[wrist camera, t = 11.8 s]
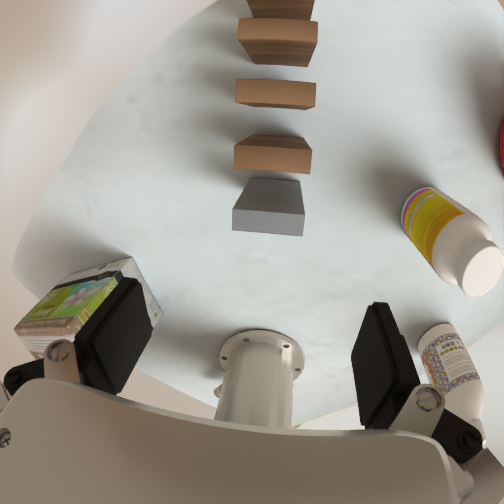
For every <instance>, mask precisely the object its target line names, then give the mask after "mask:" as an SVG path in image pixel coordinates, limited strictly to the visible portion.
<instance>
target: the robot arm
mask: <svg viewBox="0 0 504 504" xmlns="http://www.w3.org/2000/svg"><path fill="white" fill-rule="evenodd" d="M151 334H152V328H151V324H150V320H149V316H148V311H147V307H146V302H145V297H144V293H143V288H142V284H141V283H140V282H139V281H138V279H136V278H130V277H124V278H123V279H122V280H121V281H120V282H119V283H118V284H117V285H116V287H115V288H114V289H113V290H112V291H111V292H110V294H109V295H108V296H107V297H106V298H105V299H104V301H103V302H102V303H101V304H100V305H99V307H98V308H97V309H96V310H95V311H94V313H93V314H92V315H91V316H90V318H89V319H88V320H87V321H86V323H85V324H84V325H83V326H82V328H81V329H80V330H79V331H78V333H77V334H76V335H75V336H74V338H75V340H74V341H73V342H71V341H69V340H67V339H59V340H56V341H53V342H52V343H50V344H49V345H48V346H47V347H46V349H45V351H44V358H41V359H38V360H35V361H32V362H29V363H25V364H22V365H19V366H16V367H13V368H11V369H10V370H9V371H8V372H7V373H6V375H5V377H4V383H2V382H1V381H0V504H498V503H499V502H500V501H501V499H502V498H503V497H504V467H503V466H502V465H501V463H500V462H499V461H498V460H497V459H496V457H495V456H494V455H493V454H492V453H491V452H490V450H489V449H488V448H485V449H483V447H482V445H483V438H482V435H481V433H480V431H479V430H478V429H477V428H476V427H474V426H472V425H471V424H469V423H468V422H466V421H464V420H463V419H461V418H460V417H458V416H457V415H455V414H453V413H452V412H450V411H449V410H447V409H446V408H444V407H445V397H444V395H443V393H442V392H441V390H440V389H438V388H437V387H436V386H434V385H431V384H421V383H420V380H419V377H418V374H417V371H416V368H415V365H414V362H413V360H412V357H411V354H410V351H409V349H408V346H407V343H406V341H405V338H404V336H403V335H400V332H399V329H398V327H397V324H396V322H395V319H394V317H393V314H392V312H391V310H390V307H389V305H388V303H384V302H374V303H373V304H372V305H369V306H368V308H367V311H366V314H365V317H364V320H363V323H362V326H361V328H360V331H359V334H358V337H357V340H356V342H355V345H354V348H353V350H352V354H351V361H352V367H353V373H354V380H355V386H356V393H357V400H358V407H359V415H360V422H361V425H363V426H365V430H304V429H291V420H292V399H293V381H294V380H295V379H296V378H298V376H299V375H300V374H301V373H302V371H303V369H304V355H303V352H302V350H301V348H300V347H299V346H298V345H297V344H296V343H295V342H294V341H293V340H291V339H290V338H288V337H286V336H284V335H282V334H279V333H275V332H271V331H265V330H252V331H245V332H241V333H238V334H236V335H234V336H232V337H230V338H229V339H227V340H226V342H225V343H224V344H223V346H222V348H221V351H220V354H219V361H220V364H221V367H222V368H223V370H224V371H225V372H226V374H225V378H224V381H223V384H221V385H220V386H218V387H217V388H215V389H214V394H215V396H216V397H218V398H219V402H218V406H217V410H216V415H215V418H214V420H212V419H206V418H201V417H196V416H191V415H186V414H182V413H177V412H173V411H168V410H165V409H160V408H157V407H153V406H149V405H146V404H142V403H138V402H135V401H132V400H128V399H125V398H122V397H119V396H116V395H117V393H120V392H121V391H122V389H123V387H124V385H125V383H126V382H127V380H128V378H129V376H130V374H131V372H132V370H133V368H134V367H135V365H136V363H137V361H138V359H139V357H140V355H141V354H142V352H143V350H144V348H145V346H146V344H147V343H148V341H149V339H150V337H151Z"/></svg>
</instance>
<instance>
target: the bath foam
mask: <svg viewBox="0 0 504 504" xmlns="http://www.w3.org/2000/svg"><path fill="white" fill-rule="evenodd" d="M418 352H419V354H420V357H421V360H422V363H423V365H424V368H425V371H426V374H427V377H428V379H429V382H430V384H431V385H434V386H436V387H437V388H438V389H440V390H441V392H442V393H443V395H444V397H445V407H444V408H446V409H447V410H449V411H450V412H452V413H453V414H455V415H457V416H458V417H460V418H461V419H463V420H464V421H466V422H468V423H469V424H471V425H472V426H474V427H476V428H477V429H478V430H479V431H480V433H481V435H482V438H483V445H484V444H485V443H486V441H487V439H486V436H485V432H484V430H483V427H482V424H481V421H480V416H481V412H482V408H483V403H484V389H483V385H482V382H481V380H480V377H479V375H478V373H477V371H476V369H475V367H474V364H473V362H472V360H471V358H470V356H469V354H468V352H467V350H466V348H465V346H464V345H463V343H462V341H461V339H460V337H459V335H458V333H457V331H456V330H455V328H454V327H453V326H452V325H450V324H439V325H437V326H434V327H433V328H431V329H430V330H428V331H427V332H426V333H425V334H424V335H423V336H422V338H421V339H420V341H419V344H418Z"/></svg>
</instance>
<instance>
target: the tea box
mask: <svg viewBox="0 0 504 504" xmlns="http://www.w3.org/2000/svg"><path fill="white" fill-rule="evenodd" d="M124 277H130V278H136V279H138V281H139V282H140V283H141V284H142V288H143V293H144V297H145V302H146V307H147V311H148V316H149V320H150V324H151V328H152V330H153V329H154V327H155V326H156V324H157V322H158V321H159V319H160V317H161V316H162V312H161V310H160V308H159V307H158V305H157V303H156V301H155V299H154V297H153V296H152V294H151V292H150V290H149V288H148V286H147V285H146V283H145V281H144V279H143V277H142V275H141V273H140V271H139V269H138V267H137V266H136V264H135V262H134V260H133V258H128V259H124V260H119V261H115V262H112V263H108V264H104V265H101V266H98V267H94V268H90V269H87V270H84V271H80V272H77V273H74V274H70V275H68V276H66V277H65V278H64V279H63V280H62V281H61V282H60V283H59V284H58V285H56V286H55V287H54V288H53V289H52V290H51V291H50V292H49V293H48V294H47V295H46V296H45V297H44V298H43V299H42V300H41V301H40V302H39V303H37V305H35V306H34V308H33V309H32V310H31V311H30V312H29V313H28V314H27V315H26V316H25V317H24V318H23V319H22V320H21V321H20V322H19V323H18V324H17V325H16V327H15V328H14V330H15V332H16V333H17V335H18V336H19V337H20V339H21V340H22V342H23V343H24V345H25V346H26V347H27V349H28V350H29V351H30V352H31V354H32V355H33V356H34V358H35V359H36V360H38V359H41V358H44V351H45V349H46V347H47V346H48V345H49V344H50V343H52V342H53V341H56V340H59V339H67V340H69V341H71V342H73V341H74V340H75V338H74V336H75V335H76V334H77V333H78V331H79V330H80V329H81V328H82V326H83V325H84V324H85V323H86V321H87V320H88V319H89V318H90V316H91V315H92V314H93V313H94V311H95V310H96V309H97V308H98V307H99V305H100V304H101V303H102V302H103V301H104V299H105V298H106V297H107V296H108V295H109V294H110V292H111V291H112V290H113V289H114V288H115V287H116V285H117V284H118V283H119V282H120V281H121V280H122V279H123V278H124Z"/></svg>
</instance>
